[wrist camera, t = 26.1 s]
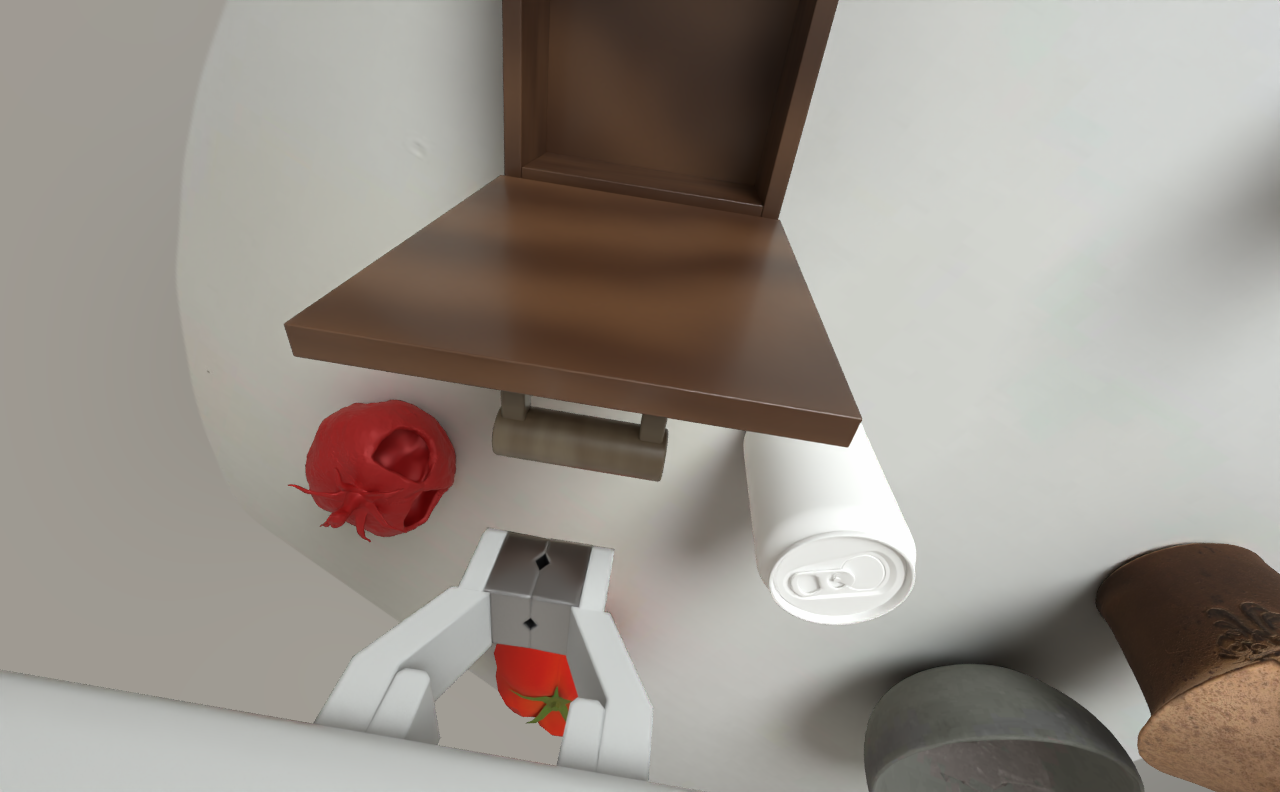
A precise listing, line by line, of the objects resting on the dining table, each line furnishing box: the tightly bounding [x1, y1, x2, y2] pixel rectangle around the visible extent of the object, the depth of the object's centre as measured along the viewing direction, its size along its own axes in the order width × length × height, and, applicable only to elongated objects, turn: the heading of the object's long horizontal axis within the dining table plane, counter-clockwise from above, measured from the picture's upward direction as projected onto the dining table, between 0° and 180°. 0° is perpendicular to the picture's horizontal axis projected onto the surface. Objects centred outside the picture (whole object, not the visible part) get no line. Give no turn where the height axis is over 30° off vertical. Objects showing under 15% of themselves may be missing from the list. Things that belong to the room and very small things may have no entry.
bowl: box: [864, 664, 1144, 792], centre depth 46 cm, size 20×20×10 cm
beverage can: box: [743, 423, 916, 625], centre depth 31 cm, size 8×8×12 cm
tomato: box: [494, 644, 578, 737], centre depth 48 cm, size 13×12×8 cm
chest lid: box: [284, 175, 862, 482], centre depth 18 cm, size 14×13×5 cm
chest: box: [502, 0, 839, 220], centre depth 22 cm, size 14×13×5 cm
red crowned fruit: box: [288, 400, 456, 542], centre depth 36 cm, size 10×10×9 cm
